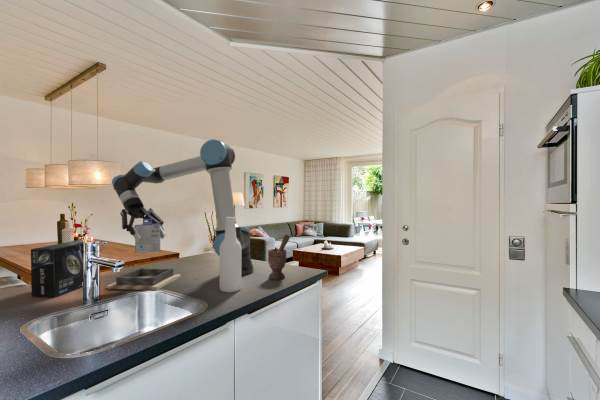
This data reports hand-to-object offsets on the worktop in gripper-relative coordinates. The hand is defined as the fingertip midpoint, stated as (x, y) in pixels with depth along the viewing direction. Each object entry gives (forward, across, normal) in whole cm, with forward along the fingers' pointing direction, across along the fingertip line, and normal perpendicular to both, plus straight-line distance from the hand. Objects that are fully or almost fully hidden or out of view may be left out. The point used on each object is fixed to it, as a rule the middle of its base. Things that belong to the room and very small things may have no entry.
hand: (151, 238), depth 128 cm
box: (-3, +22, -32) cm, 39 cm away
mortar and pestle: (+43, -38, +14) cm, 60 cm away
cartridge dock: (+11, -1, -18) cm, 21 cm away
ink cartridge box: (+3, 0, -6) cm, 7 cm away
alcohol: (+39, -13, +10) cm, 42 cm away
